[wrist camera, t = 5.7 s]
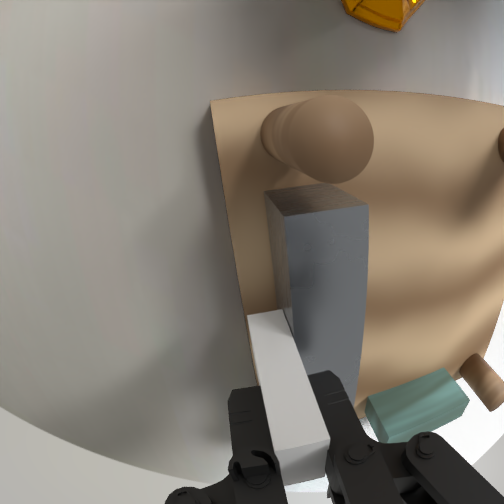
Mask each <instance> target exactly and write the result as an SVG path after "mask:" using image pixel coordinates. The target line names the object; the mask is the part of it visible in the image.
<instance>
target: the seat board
mask: <svg viewBox="0 0 504 504" xmlns="http://www.w3.org/2000/svg"><path fill="white" fill-rule="evenodd" d="M210 105H211V112H212V119H213V125H214V132H215V139H216V145H217V152H218V158H219V165H220V171H221V178H222V184H223V190H224V197H225V203H226V209H227V215H228V221H229V227H230V234H231V240H232V246H233V252H234V257H235V263H236V269H237V275H238V281H239V287H240V293H241V298H242V304H243V310H244V315H245V321H246V327H247V332H248V338H249V343H250V349H251V354H252V360H253V365H254V371H255V376H256V381H257V386H259V381H258V376H257V371H256V366H255V360H254V355H253V349H252V343H251V337H250V331H249V325H248V319H247V315H252V314H258V313H264V312H269V311H275V310H277V302H276V293H275V284H274V275H273V266H272V257H271V248H270V240H269V231H268V223H267V215H266V207H265V199H264V191H268V190H275V189H282V188H289V187H296V186H304V185H312V184H320V183H328V184H332V185H334V186H336V187H337V188H339V189H341V190H343V191H345V192H347V193H349V194H351V195H352V196H354V197H356V198H358V199H360V200H361V201H363V202H365V203H367V204H369V254H368V280H367V297H366V311H365V324H364V334H363V344H362V353H361V361H360V369H359V377H358V384H357V391H356V397H355V403H354V410H355V412H356V414H357V416H358V419H361V418H364V417H367V418H368V420H369V422H370V424H371V426H372V428H373V430H374V433H375V435H376V437H377V439H378V441H379V442H381V443H399V442H408V441H409V440H410V439H411V438H412V437H413V436H414V435H416V434H418V433H420V432H427V431H429V432H431V431H433V430H435V429H437V428H439V427H441V426H443V425H445V424H447V423H449V422H451V421H453V420H455V419H457V418H458V417H460V416H462V414H463V412H464V410H465V408H466V406H467V405H468V403H469V401H470V400H469V398H468V397H467V396H466V394H465V393H464V392H463V390H462V389H461V388H460V387H459V385H458V384H457V383H456V382H455V381H456V380H458V379H460V378H462V377H463V378H464V380H465V381H466V382H467V383H468V385H469V386H470V387H471V388H472V390H473V391H474V392H475V393H476V395H477V396H478V397H479V398H480V400H481V401H482V402H483V404H484V405H485V406H486V407H487V409H488V410H489V411H490V412H491V411H494V410H495V409H497V408H498V407H499V406H500V405H501V404H502V403H503V402H504V381H503V380H502V379H501V378H500V377H499V376H498V375H497V373H496V372H495V371H494V370H493V369H492V368H491V367H490V366H489V365H488V364H487V362H486V361H485V360H484V359H483V358H484V356H485V353H486V351H487V348H488V345H489V343H490V340H491V337H492V335H493V332H494V329H495V326H496V323H497V320H498V317H499V314H500V311H501V307H502V304H503V301H504V106H501V105H496V104H491V103H486V102H480V101H475V100H469V99H463V98H456V97H449V96H441V95H432V94H422V93H411V92H397V91H377V90H316V91H296V92H281V93H269V94H259V95H250V96H241V97H234V98H226V99H219V100H213V101H210Z"/></svg>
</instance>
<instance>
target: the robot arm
mask: <svg viewBox="0 0 504 504" xmlns="http://www.w3.org/2000/svg"><path fill="white" fill-rule="evenodd" d="M247 319H248V325H249V331H250V337H251V343H252V349H253V355H254V360H255V366H256V371H257V376H258V381H259V386H254V387H248V388H242V389H235V390H232V392H231V395H230V397H229V399H228V411H229V421H230V431H231V441H232V451H233V457H232V458H231V460H230V461H229V466H228V471H229V475H228V476H227V477H226V478H224V479H223V480H222V481H220V482H218V483H216V484H213V485H211V486H208V487H205V488H202V489H198V488H195V487H182V488H179V489H176V490H175V491H173V492H172V493H171V494H169V496H168V498H167V500H166V501H165V504H288V502H287V497H286V493H285V489H284V486H286V485H291V484H296V483H301V482H305V481H309V480H314V479H318V478H322V477H325V473H326V475H327V478H328V481H329V486H328V491H327V498H330V497H331V499H332V502H333V504H504V497H503V496H502V495H501V494H500V493H499V492H498V491H497V490H496V489H495V488H494V487H493V486H492V485H491V484H490V483H489V482H488V481H487V480H486V479H485V478H483V476H481V475H480V474H479V473H478V472H477V471H476V470H475V469H474V468H473V467H472V466H471V465H470V464H469V463H468V462H467V461H466V460H465V459H464V458H463V457H462V456H461V455H460V454H459V453H458V452H457V451H456V450H455V449H454V448H452V447H451V446H450V445H449V444H448V443H447V442H446V441H445V440H444V439H443V438H442V437H441V436H439V435H438V434H436V433H433V432H429V431H427V432H420V433H418V434H416V435H414V436H413V437H412V438H411V439H410V440H409V441H408V442H399V443H381V442H377V441H375V440H373V439H371V438H370V437H369V436H368V435H367V434H366V433H365V431H364V429H363V427H362V425H361V423H360V421H359V419H358V416H357V414H356V412H355V410H354V408H353V406H352V404H351V401H350V400H349V397H348V395H347V393H346V391H345V389H344V387H343V384H342V382H341V380H340V378H339V377H337V376H336V375H335V374H334V373H333V372H331V371H330V370H327V371H323V372H319V373H315V374H311V375H307V374H306V371H305V369H304V366H303V363H302V360H301V358H300V355H299V352H298V350H297V347H296V344H295V342H294V339H293V336H292V334H291V331H290V328H289V326H288V323H287V320H286V318H285V315H284V312H283V310H282V309H280V310H275V311H269V312H264V313H258V314H252V315H247Z"/></svg>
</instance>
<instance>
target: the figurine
mask: <svg viewBox="0 0 504 504" xmlns="http://www.w3.org/2000/svg"><path fill="white" fill-rule="evenodd" d="M424 1H425V0H341V2H342V4H343V6H344V9H345V11H346V13H347V14H348V15H350V16H352V17H354V18H356V19H358V20H360V21H362V22H364V23H367V24H369V25H371V26H374V27H377V28H380V29H384V30H388V31H392V32H396V33H397V32H399V31H400V30H401V29H402V27H403V26H404V25H405V23H406V22H407V21H408V20H409V18H410V17H411V16H412V15H413V14H414V13H415V12H416V11H417V10H418V9H419V7H420V6H421V5H422V4H423V3H424Z"/></svg>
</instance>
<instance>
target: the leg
mask: <svg viewBox="0 0 504 504" xmlns="http://www.w3.org/2000/svg"><path fill="white" fill-rule="evenodd" d="M264 199H265V207H266V215H267V223H268V231H269V240H270V248H271V257H272V266H273V275H274V284H275V293H276V302H277V310H280V309H282V310H283V312H284V315H285V318H286V320H287V323H288V326H289V328H290V331H291V334H292V336H293V339H294V342H295V344H296V347H297V350H298V352H299V355H300V358H301V360H302V363H303V366H304V369H305V371H306V374H307V375H311V374H315V373H319V372H323V371H327V370H330V371H331V372H333V373H334V374H335V375H336V376H337V377H339V378H340V380H341V382H342V384H343V387H344V389H345V391H346V393H347V395H348V397H349V400H350V401H351V404H352V406H353V408H354V403H355V397H356V391H357V384H358V377H359V369H360V361H361V353H362V344H363V334H364V324H365V311H366V297H367V280H368V254H369V204H367V203H365V202H363V201H361V200H360V199H358V198H356V197H354V196H352V195H351V194H349V193H347V192H345V191H343V190H341V189H339V188H337V187H336V186H334V185H332V184H328V183H320V184H312V185H304V186H296V187H289V188H282V189H275V190H268V191H264Z"/></svg>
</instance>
